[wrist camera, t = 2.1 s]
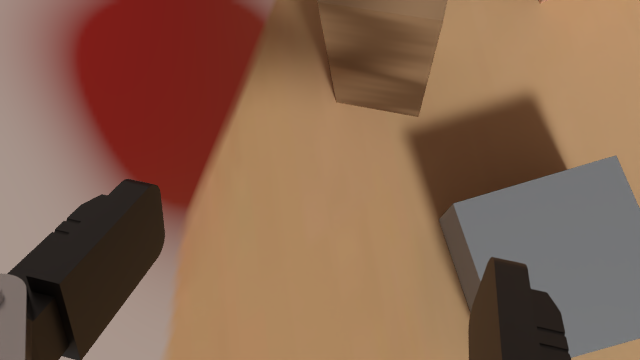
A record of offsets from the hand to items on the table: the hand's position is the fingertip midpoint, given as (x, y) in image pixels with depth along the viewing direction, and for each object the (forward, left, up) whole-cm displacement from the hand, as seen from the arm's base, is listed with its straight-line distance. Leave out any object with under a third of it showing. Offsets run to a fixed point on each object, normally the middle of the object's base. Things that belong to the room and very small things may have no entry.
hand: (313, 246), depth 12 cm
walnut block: (-5, -10, -14) cm, 18 cm away
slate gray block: (-9, +2, -14) cm, 17 cm away
